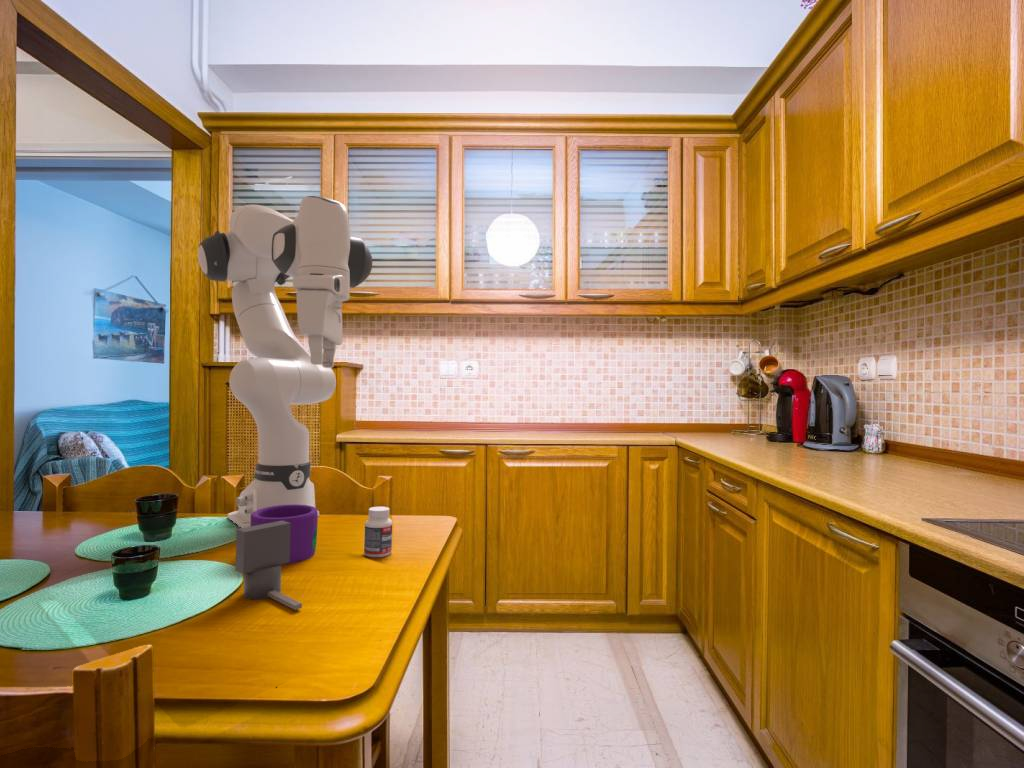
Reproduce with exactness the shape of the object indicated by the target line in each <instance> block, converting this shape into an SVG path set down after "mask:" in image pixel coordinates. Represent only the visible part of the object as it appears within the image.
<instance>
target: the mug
mask: <svg viewBox="0 0 1024 768" xmlns="http://www.w3.org/2000/svg"><path fill="white" fill-rule="evenodd" d="M318 511H319V510H318V509H317V507H316V506H315V507H313V506H308V505H295V504H293V505H278V506H271V507H266V508H262V509H259V510H256V511H254V512H253V513H252V514H251V526H256V525H261V524H266V523H272V522H277V521H282V520H283V521H286V522H289V523H291V525H290V562H288V563H284V564H281V566H282V565H290V564H294V563H299V562H302V561H306V560H309V559H310V558H312V557H313V556H314V555H315V554H316V553H315V552H316V547H317V539H318V537H317V536H318V526H319V525H318V524H319V523H318V521H319V519H318V517H319V516H318ZM251 526H250V527H251Z"/></svg>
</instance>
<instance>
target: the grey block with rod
mask: <svg viewBox="0 0 1024 768" xmlns="http://www.w3.org/2000/svg"><path fill="white" fill-rule="evenodd" d="M290 525H291V523H289V522H286V521H283V520H282V521H277V522H272V523H266V524H261V525H256V526H251V527H246V528H240V527H239V528H236V535H235V536H236V537H235V538H236V543H235V545H236V547H235V571H236V572H238V573H241V574H242V575H244V578H243V579H244V580H243V597H244V598H246V599H248V600H264V599H268V598H270V599H273V600H275V601H277V602H278V603H280V604H282V605H284V606H286V607H288V608H291V609H292V610H294V611H297V610H299V609H302V608H303V603H301V602H300V601H298V600H295V599H294V598H291V597H290V596H287V595H286V594H284V593H281V591H282V589H281V588H282V585H281V584H282V565H281V564H283V565H285V564H284V563H288V562H290Z"/></svg>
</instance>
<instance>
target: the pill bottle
mask: <svg viewBox="0 0 1024 768" xmlns="http://www.w3.org/2000/svg"><path fill="white" fill-rule="evenodd" d="M368 517H369V519H366V521H365V524H364V540H363V541H364V544H363V545H364V546H363V554H364V556H366V557H369V558H375V559H376V558H384V557H387V556H389V555H391V554H392V551H393V547H392V546H393V543H392V542H393V541H392V539H393V521H392V519H391V518H389V517H390V508H389V507H387V506H372V507H369V508H368Z"/></svg>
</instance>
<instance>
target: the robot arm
mask: <svg viewBox="0 0 1024 768" xmlns="http://www.w3.org/2000/svg"><path fill="white" fill-rule="evenodd" d="M228 225H229V231H228V232H220V230H216V231H214V234H212V235H210V236H209V235H208V236H207V237H205V238H204V239H203V240H202V241H201V242H200V243H199V244H198V251H197V261H198V265H199V267H200V269H201V271H202V272H203V273H204V276H205V277H206V278H208V279H209V280H210V281H214V282H221V283H222V282H223V283H224V282H226V281H230V282H236V283H235V284H234V285H233V287H232V289H231V300H232V301H231V303H232V309H233V313H234V316H235V319H236V322H237V325H238V327H239V328H238V329H239V331H240V333H241V336H242V338H243V341H244V344H245V347H246V349H247V350H248V351H249V352H250V354H252V355H254V356H255V358H247V359H243V360H240V361H238V362H237V363H236V364H235V365H234V367H233V368H232V369H231V371H230V374H229V380H228V381H229V383H228V384H229V388H230V392H231V393H232V395H233V396H234V398H235V399H236V400H237V401H239V402H240V403H241V404H242V405H244V406H245V407H246V409H247V410H248V411H249V412H250V414H251V417H253V420H254V422H255V425H256V428H257V435H258V463H257V464H255V465H253V466H254V467H255V468H254V475H253V478H254V479H253V480H252V481H251V482H250V483H249V484H248V485H247V486H246V488H244V489H243V490H242V491H241V492H240V494H239V496H238V497H236V501H235V502H236V504H235V505H236V507H238V509H237V510H234V511H232V512H229V513H227V518H228V520H229V521H231V520H232V521H233V522H232V521H231V522H232V523H234V524H235V523H236V524H237V525H238V526H237V525H236V524H235V525H236V526H237V527H239V528H240V527H241V528H246V527H250V526H251V514H252V513H253V512H254V511H256V510H259V509H262V508H266V507H271V506H278V505H293V504H295V505H308V506H313V507H315V508H316V498H315V497H316V495H315V485H314V484H315V483H313V482H312V481H311V480H310V477H311V475H312V473H311V471H312V466H311V461H310V437H311V436H310V431H309V429H308V426H306V425H305V424H303V422H300V421H298V420H297V419H296V418H295V417H294V415H293V412H292V406H294V405H300V406H301V405H313V404H317V403H318V404H319V403H322V402H325V401H327V400H329V399H331V397H332V396H333V394H334V393H335V390H336V387H337V379H336V378H337V377H336V375H335V371H334V370H333V369H332V368H334V366H335V362H334V361H335V354H336V352H337V351H336V350H337V349H336V347H337V346H341V345H342V343H343V337H344V336H343V335H344V334H343V333H344V332H343V311H342V309H343V302H346V301H350V298H351V297H350V294H351V293H350V291H351V290H350V289H352V288H353V289H355V288H356V287H358V286H360V285H361V284H363V282H364V281H366V279H368V277H369V276H370V274H371V272H372V270H373V269H372V268H373V256H372V254H371V251H370V249H369V248H368V246H367V244H366V243H365V241H364V240H363V239H362V238H360V237H355V236H351V233H350V232H351V231H350V220H349V213H348V210H347V208H346V206H345V205H344V204H343V203H341V202H340V201H338V200H335V199H331V198H327V197H323V196H317V195H308V196H305V197H303V198H302V199H301V201H300V204H299V209H298V214H297V215H296V217H295V218H294V219H292V218H290V217H288V216H286V215H284V214H282V213H280V212H279V211H277V210H275V209H273V208H270V207H268V206H266V205H260V204H245V205H243V206H240V207H237V208H236V209H235V210H234V211H233V212H232V213H231V216H230V218H229V223H228ZM290 277H292V287H293V289H294V290H295V291H296V310H297V311H296V313H297V315H296V316H297V324H298V328H299V332H300V334H302V335H305V336H306V337H308V338H307V339H308V341H307V342H308V343H307V344H308V348H309V350H307V348H306V347H305V346H304V345H303V344H302V343H301V342H300V341H299V339H298V338H297V337H296V335H295V333H294V331H293V330H292V328H291V326H290V325H291V324H290V323H289V320H288V319H287V316H286V314H285V310H284V308H283V307H282V306H283V305H282V303H281V302H280V301H279V298H278V296H277V293H276V290H275V283H277V284H278V285H279V286H282V285H284V284H286V280H288V279H289V278H290ZM317 511H318V517H319V516H320V511H319V510H317Z"/></svg>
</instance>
